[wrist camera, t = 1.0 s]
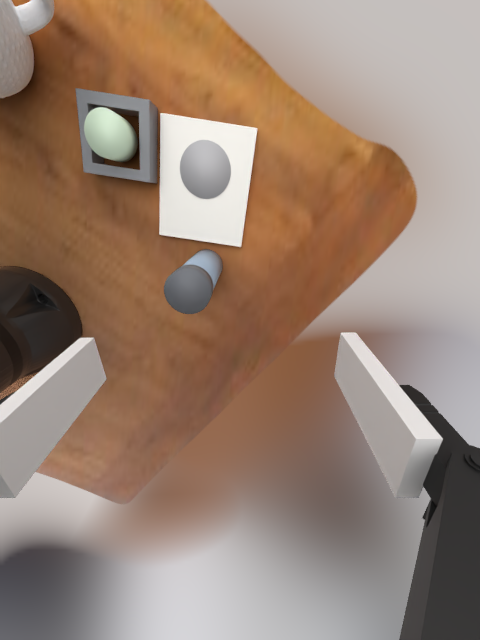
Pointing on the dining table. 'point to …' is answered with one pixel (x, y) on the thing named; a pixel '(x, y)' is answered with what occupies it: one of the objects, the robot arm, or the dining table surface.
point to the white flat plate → (204, 178)
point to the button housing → (146, 134)
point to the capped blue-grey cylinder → (193, 282)
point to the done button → (110, 135)
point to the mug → (19, 41)
